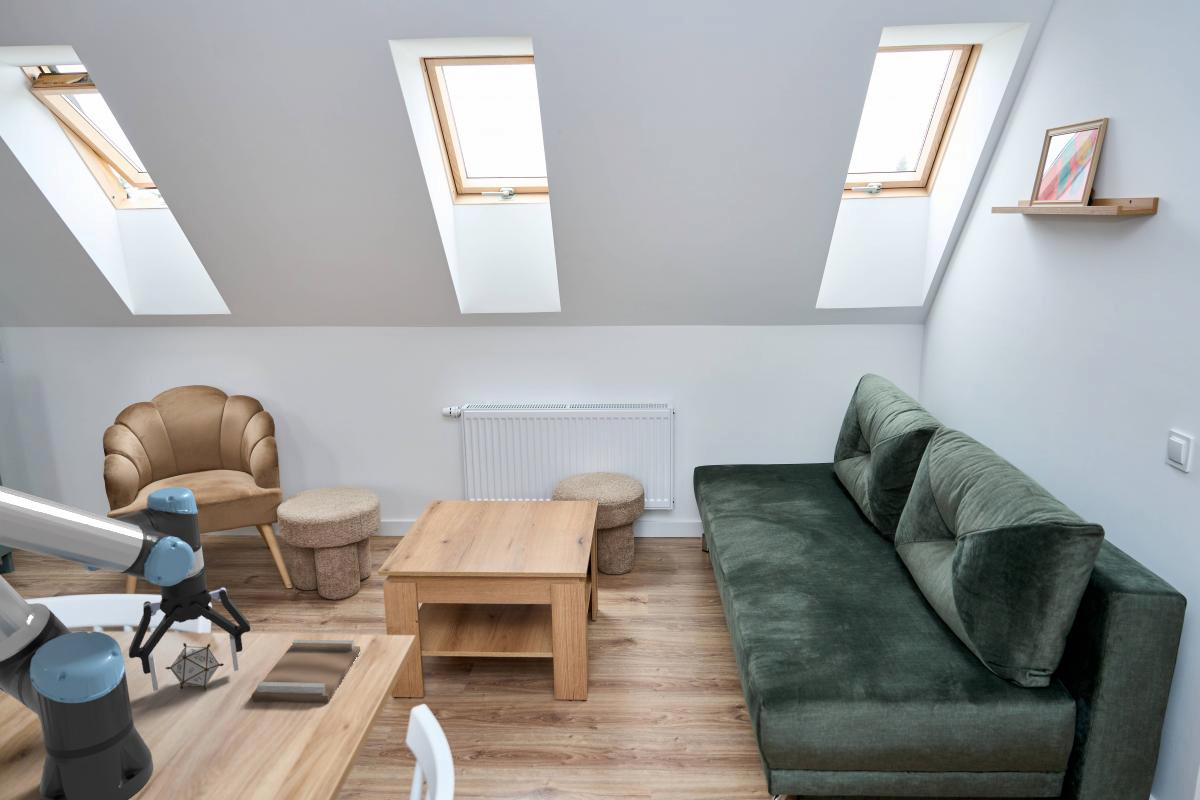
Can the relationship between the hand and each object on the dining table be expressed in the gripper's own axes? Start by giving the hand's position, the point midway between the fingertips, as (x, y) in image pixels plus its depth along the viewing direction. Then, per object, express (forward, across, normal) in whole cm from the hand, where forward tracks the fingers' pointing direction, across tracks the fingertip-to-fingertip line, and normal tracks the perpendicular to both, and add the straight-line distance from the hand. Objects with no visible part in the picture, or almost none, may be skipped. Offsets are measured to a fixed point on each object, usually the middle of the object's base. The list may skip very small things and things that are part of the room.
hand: (196, 677), depth 158 cm
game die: (+2, 0, 0) cm, 2 cm away
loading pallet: (+2, -19, +7) cm, 20 cm away
